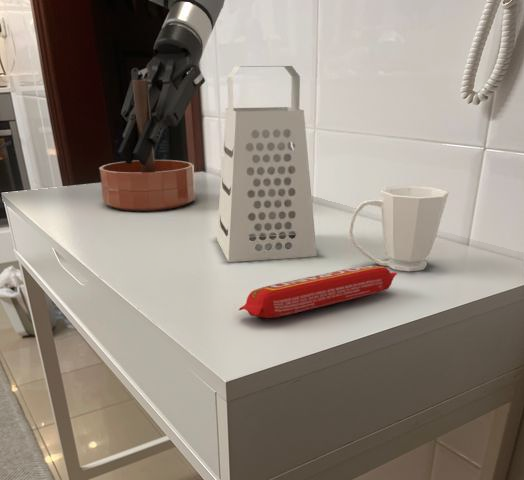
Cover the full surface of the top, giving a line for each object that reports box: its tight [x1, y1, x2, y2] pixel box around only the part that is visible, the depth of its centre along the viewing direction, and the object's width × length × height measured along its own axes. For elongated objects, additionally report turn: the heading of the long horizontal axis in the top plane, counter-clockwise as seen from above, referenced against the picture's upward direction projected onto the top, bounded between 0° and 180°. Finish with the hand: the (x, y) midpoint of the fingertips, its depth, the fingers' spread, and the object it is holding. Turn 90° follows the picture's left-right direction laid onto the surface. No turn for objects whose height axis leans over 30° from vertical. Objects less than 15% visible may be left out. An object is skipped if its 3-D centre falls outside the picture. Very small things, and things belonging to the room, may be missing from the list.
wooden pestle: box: [133, 80, 155, 172], centre depth 89 cm, size 4×4×17 cm
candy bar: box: [238, 265, 398, 319], centre depth 51 cm, size 16×4×3 cm, turn 121°
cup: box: [348, 185, 449, 272], centre depth 60 cm, size 7×10×8 cm
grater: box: [216, 65, 318, 263], centre depth 65 cm, size 10×10×20 cm
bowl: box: [98, 159, 196, 212], centre depth 93 cm, size 15×15×6 cm
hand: (131, 158), depth 87 cm, fingers closed on wooden pestle, 2 cm apart
